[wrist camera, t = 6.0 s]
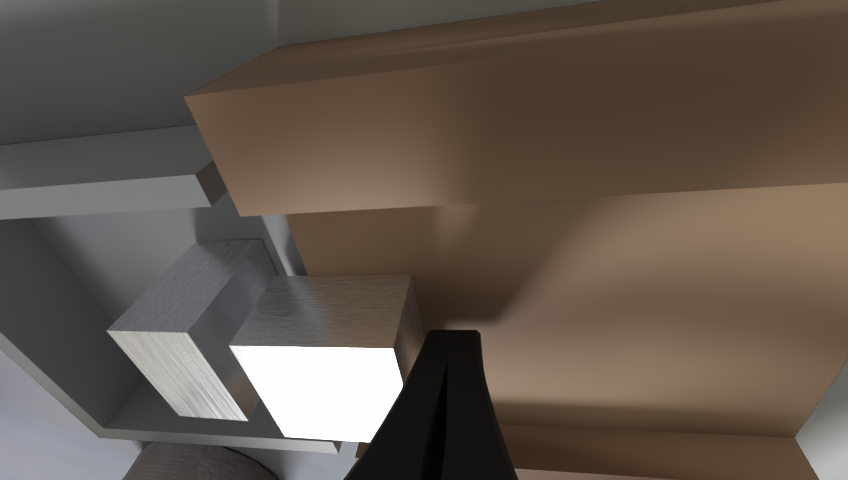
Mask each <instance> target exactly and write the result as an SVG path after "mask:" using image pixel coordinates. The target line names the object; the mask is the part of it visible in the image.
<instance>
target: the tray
mask: <svg viewBox="0 0 848 480" xmlns="http://www.w3.org/2000/svg"><path fill="white" fill-rule="evenodd" d="M227 240H262V242H263V244H264V247H265V249H266V251H267V253H268V255H269V258H270V260H271V262H272V264H273V266H274V269H275V271H276V273H277V275H278V276H305V275H308V273H307V270H306V268H305V265H304V263H303V260H302V258H301V256H300V253H299V251H298V248H297V246H296V243H295V241H294V238H293V236H292V233H291V231H290V228H289V226H288V223H287V221H286V218H285V216H284V214H277V215H259V216H241V217H240V215H239V213H238V210H237V208H236V206H235V204H234V202H233V200H232V198H231V196H230V194H229V191H228V189H227V187H226V185H225V183H224V181H223V179H222V177H221V175H220V173H219V170H218V168H217V166H216V164H215V162H214V160H213V158H212V156H211V154H210V151H209V149H208V147H207V145H206V143H205V141H204V139H203V137H202V135H201V133H200V130H199V128H198V126H197V124H196V125H187V126H177V127H168V128H159V129H149V130H140V131H130V132H121V133H112V134H102V135H93V136H84V137H74V138H65V139H55V140H46V141H37V142H27V143H18V144H9V145H0V349H1V350H2V351H3V352H4V353H5V354H6V355H7V356H9V357H10V358H11V359H12V360H13V361H14V362H15V363H16V364H17V365H19V366H20V367H21V368H22V369H23V370H24V371H25V372H26V373H27V374H29V375H30V376H31V377H32V378H33V379H34V380H35V381H36V382H38V383H39V384H40V385H41V386H42V387H43V388H44V389H45V390H46V391H48V392H49V393H50V394H51V395H52V396H53V397H54V398H55V399H56V400H58V401H59V402H60V403H61V404H62V405H63V406H64V407H65V408H66V409H68V410H69V411H70V412H71V413H72V414H73V415H74V416H75V417H76V418H78V419H79V420H80V421H81V422H82V423H83V424H84V425H85V426H87V427H88V428H89V429H90V430H91V431H92V432H93V433H94V434H95V435H97V436H98V437H99V438H109V439H124V440H140V441H155V442H170V443H185V444H201V445H216V446H231V447H247V448H262V449H277V450H292V451H308V452H323V453H339V450H340V447H341V443H342V441H341V440H326V439H311V438H296V437H285V436H284V434H283V433H282V431H281V429H280V428H279V426H278V425H277V423H276V421H275V420H274V418H273V416H272V415H271V413H270V412H269V410H268V408H267V407H266V405H265V404H264V402H263V400H262V399H261V398H260V400H259V402H258V404H257V406H256V407H255V409H254V411H253V413H252V415H251V417H250V419H249V421H241V420H227V419H214V418H201V417H188V416H179V415H178V414H177V413H176V412H175V410H174V409H173V408H172V407H171V406H170V405H169V403H168V402H167V401H166V400H165V399H164V398H163V396H162V395H161V394H160V393H159V392H158V391H157V389H156V388H155V387H154V386H153V385H152V384H151V382H150V381H149V380H148V379H147V378H146V377H145V375H144V374H143V373H142V372H141V371H140V370H139V368H138V367H137V366H136V365H135V364H134V362H133V361H132V360H131V359H130V358H129V357H128V355H127V354H126V353H125V352H124V351H123V350H122V348H121V347H120V346H119V345H118V344H117V343H116V341H115V340H114V339H113V338H112V337H111V336H110V334H109V333H108V332H107V331H106V330H107V329H108V328H109V327H110V326H111V325H112V324H113V323H114V322H115V321H116V320H117V319H118V318H119V317H120V316H121V315H122V314H123V313H124V312H125V311H126V310H127V309H129V308H130V307H131V306H132V305H133V304H134V303H135V302H136V301H137V300H138V299H139V298H140V297H141V296H142V295H143V294H144V293H145V292H146V291H147V290H148V289H149V288H150V287H151V286H152V285H153V284H154V283H155V282H156V281H157V280H158V279H159V278H160V277H161V276H162V275H163V274H164V273H165V272H166V271H167V270H168V269H169V268H170V267H171V266H172V265H173V264H174V263H175V262H176V261H177V260H178V259H179V258H180V257H181V256H182V255H183V254H184V253H185V252H186V251H187V250H188V249H189V248H190V247H191V246H192V245H193V244H194V243H195V242H196V241H227Z"/></svg>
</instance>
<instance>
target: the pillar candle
mask: <svg viewBox="0 0 848 480" xmlns="http://www.w3.org/2000/svg"><path fill="white" fill-rule="evenodd" d="M122 480H278V479H277V478H276V477H275V476H274V475H273V474H272V473H271V472H269V471H268V470H267V469H265V468H262V466H261V465H260V464H259V463H257V462H256V461H254V460H252V459H251V458H248V457H246V456H244V455H242V454H239V453H238V452H234V451H231V450H228V449H227V448H225V447H222V446H216V445H201V444H185V443H170V442H155V441H152V442H150V443H149V444H148V445H147V446H146V447H145V448H144V449H143V450H142V452H141V453H140V454H139V456H138V457H137V459H136V460H135V462H134V463H133V465H132V466H131V468H130V469H129V471H128V472H127V474H126V475H125V477H124V478H123V479H122Z"/></svg>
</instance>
